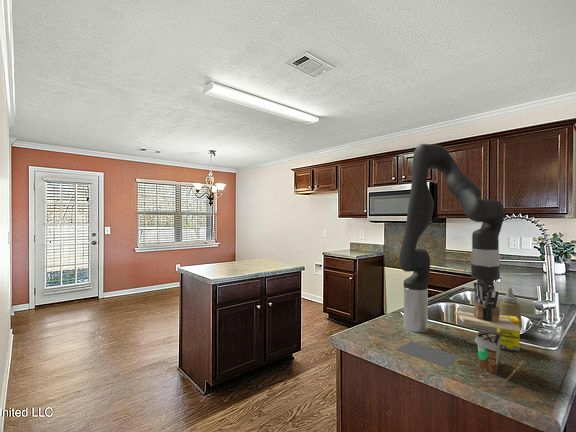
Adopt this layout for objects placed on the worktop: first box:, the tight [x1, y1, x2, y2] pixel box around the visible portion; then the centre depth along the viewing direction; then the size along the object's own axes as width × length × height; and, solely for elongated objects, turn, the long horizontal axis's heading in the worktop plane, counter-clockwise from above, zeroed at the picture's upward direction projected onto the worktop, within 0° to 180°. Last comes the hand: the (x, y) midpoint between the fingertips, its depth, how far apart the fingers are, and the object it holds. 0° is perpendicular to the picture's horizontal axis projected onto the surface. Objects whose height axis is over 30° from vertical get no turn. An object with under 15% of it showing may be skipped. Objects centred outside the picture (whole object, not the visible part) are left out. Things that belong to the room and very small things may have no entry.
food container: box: [474, 330, 501, 376], centre depth 98 cm, size 12×6×10 cm, turn 141°
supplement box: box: [496, 315, 521, 353], centre depth 112 cm, size 6×6×11 cm
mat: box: [395, 340, 461, 368], centre depth 107 cm, size 11×17×1 cm, turn 41°
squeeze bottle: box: [498, 287, 523, 331], centre depth 126 cm, size 8×8×18 cm
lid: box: [454, 303, 521, 332], centre depth 98 cm, size 9×15×5 cm, turn 77°
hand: (485, 318), depth 98 cm, fingers closed on lid, 3 cm apart
